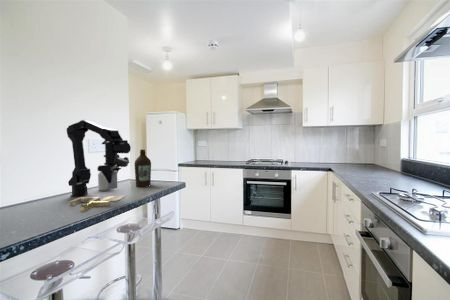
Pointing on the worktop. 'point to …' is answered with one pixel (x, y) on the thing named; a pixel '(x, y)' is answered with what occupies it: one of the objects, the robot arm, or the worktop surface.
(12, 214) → the worktop surface
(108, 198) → the wooden panel
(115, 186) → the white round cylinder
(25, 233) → the worktop surface
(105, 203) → the yellow l-shaped bracket
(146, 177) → the olive oil
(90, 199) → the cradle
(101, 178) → the can
